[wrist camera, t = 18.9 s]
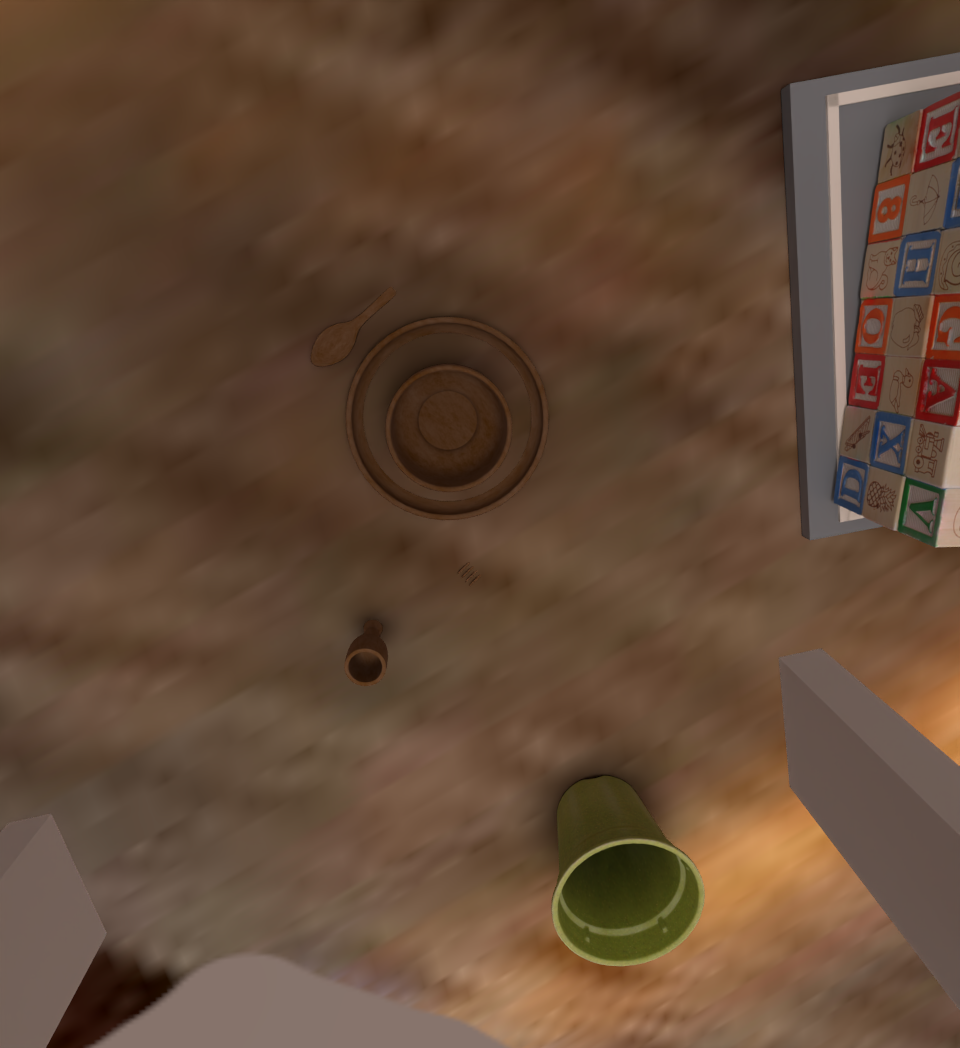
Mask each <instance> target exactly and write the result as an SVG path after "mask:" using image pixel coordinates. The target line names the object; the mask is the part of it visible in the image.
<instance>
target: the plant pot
mask: <svg viewBox="0 0 960 1048" xmlns="http://www.w3.org/2000/svg"><path fill="white" fill-rule="evenodd" d="M557 830H558V848H559V875H558V880H557V885H556V887H555V890H554V893H553V897H552V918H553V923H554V926H555V929H556V931H557V933H558V935H559V937H560V938H561V940H562V941H563V942H564V943H565V945H566V946H567V947H568V948H569V949H570V950H572V951H573V952H574V953H576V954H577V955H579V956H581V957H583V958H584V959H587V960H589V961H591V962H594V963H598V964H603V965H610V966H628V965H636V964H641V963H645V962H648V961H651V960H654V959H656V958H659V957H661V956H663V955H665V954H667V953H668V952H670V951H671V950H673V949H674V948H676V947H677V946H678V945H679V944H681V943H682V942H683V941H684V940H685V939H686V938H687V937H688V936H689V934H690V933H691V932H692V930H693V929H694V927H695V926H696V924H697V923H698V921H699V918H700V916H701V912H702V909H703V906H704V897H705V893H704V885H703V881H702V878H701V875H700V873H699V871H698V869H697V867H696V866H695V864H694V863H693V862H692V860H691V859H690V858H689V857H688V856H687V855H686V854H685V853H684V852H683V851H681V850H680V849H678V848H677V847H675V846H674V845H673V844H672V843H671V842H669V841H668V840H667V839H666V837H665V836H664V834H663V833H662V831H661V830H660V828H659V827H658V825H657V824H656V822H655V821H654V819H653V818H652V816H651V815H650V813H649V812H648V810H647V809H646V807H645V806H644V804H643V802H642V801H641V799H640V798H639V796H638V795H637V793H636V792H635V791H634V789H633V788H632V787H631V786H630V785H629V784H627V783H626V782H624V781H622V780H621V779H618V778H615V777H611V776H601V777H598V778H594V779H587V780H581V781H579V782H577V783H575V784H574V785H573V786H571V787H570V788H569V789H568V790H567V791H566V792H565V794H564V795H563V796H562V798H561V800H560V802H559V805H558V809H557Z"/></svg>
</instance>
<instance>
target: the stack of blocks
mask: <svg viewBox="0 0 960 1048" xmlns="http://www.w3.org/2000/svg"><path fill="white" fill-rule="evenodd" d="M860 298H861V301H862V302H861V307H860V316H859V324H858V329H857V337H856V344H855V354H856V355H855V358H854V365H853V371H852V378H851V387H850V393H849V405H848V406H847V407H846V411H845V418H844V426H843V433H842V440H841V446H840V458H839V463H838V471H837V477H836V485H835V493H834V503H835V504H837V505H839V506H841V507H844V508H846V509H848V510H850V511H852V512H854V513H856V514H858V515H861V516H863V517H864V518H867V519H869V520H871V521H873V522H875V523H877V524H880V525H882V526H884V527H886V528H889V529H891V530H894V531H899V532H900V533H903V534H905V535H907V536H910V537H912V538H915V539H917V540H919V541H922V542H924V543H926V544H929V545H931V546H933V547H960V91H959V92H957V93H955V94H953V95H951V96H949V97H946V98H944V99H942V100H940V101H938V102H936V103H934V104H932V105H930V106H928V107H927V108H925V109H920V110H918V111H915V112H913V113H911V114H909V115H906V116H904V117H902V118H900V119H898V120H896V121H894V122H891V123H890V124H888V125H887V126H886V128H885V134H884V141H883V148H882V155H881V162H880V169H879V175H878V184H877V186H876V188H875V194H874V201H873V208H872V215H871V223H870V230H869V238H868V247H867V251H866V257H865V264H864V271H863V278H862V286H861V293H860Z"/></svg>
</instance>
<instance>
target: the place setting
mask: <svg viewBox="0 0 960 1048" xmlns="http://www.w3.org/2000/svg"><path fill="white" fill-rule="evenodd" d="M395 295H396V291H395V290H394V289H393V288H392V287H389V288H388V289H387V290H386V291H385V292H384V293H383V294H381V295H380V296H379V297H378V298H377V299H376V300H375V301H374V302H373V303H372V304H371V305H370V306H369V307H368V308H367V309H366V310H365V311H364V312H363V313H361V314H360V315H359V316H358V317H356V318H355V319H353V320H351V321H349V322H344V323H339V324H335V325H332V326H330V327H328V328H327V329H325V330H324V331H323V332H322V333H321V334H320V335H319V336H318V338H317V339H316V341H315V343H314V345H313V348H312V352H311V362H312V363H313V364H314V365H315V366H318V367H323V366H329V365H332V364H335V363H337V362H339V361H341V360H343V359H344V358H345V357H346V356H347V355H348V354H349V353H350V351H351V350H352V348H353V346H354V344H355V341H356V338H357V334H358V331H359V329H360V328H361V327H362V325H363V324H364V323H365V322H366V321H367V320H368V319H369V318H370V317H371V316H372V315H374V314H375V313H376V312H377V311H378V310H379V309H380V308H382V307H383V306H384V305H385V304H386V303H388V302H389V301H390V300H391V299H392V298H393V297H394V296H395ZM435 333H459V334H465V335H469V336H472V337H476V338H478V339H480V340H482V341H485V342H487V343H488V344H490V345H492V346H493V347H495V348H496V349H498V350H499V351H500V352H501V353H502V354H504V355H505V356H506V357H507V358H508V359H509V360H510V362H511V363H512V364H513V365H514V367H515V368H516V369H517V371H518V372H519V374H520V376H521V378H522V380H523V381H524V384H525V386H526V389H527V392H528V395H529V399H530V404H531V414H532V417H531V430H530V436H529V440H528V443H527V446H526V449H525V451H524V453H523V455H522V457H521V459H520V461H519V462H518V464H517V465H516V467H515V468H514V469H513V471H512V472H511V473H510V474H509V475H508V476H507V477H506V478H505V479H504V480H503V481H502V482H501V483H499V484H498V485H497V486H495V487H494V488H492V489H491V490H489V491H487V492H485V493H483V494H481V495H478V496H476V497H473V498H469V499H465V500H459V501H436V500H430V499H426V498H422V497H420V496H417V495H415V494H412V493H410V492H408V491H406V490H405V489H403V488H401V487H400V486H399V485H397V484H396V483H395V482H393V481H392V480H391V479H390V478H389V477H388V476H387V475H386V474H385V473H384V472H383V470H382V469H381V468H380V467H379V465H378V464H377V462H376V461H375V459H374V457H373V455H372V453H371V451H370V449H369V447H368V443H367V440H366V437H365V432H364V426H363V409H364V401H365V397H366V392H367V390H368V387H369V384H370V382H371V380H372V378H373V376H374V374H375V372H376V371H377V369H378V368H379V367H380V365H381V364H382V363H383V361H384V360H385V359H386V358H387V357H388V356H389V355H390V354H391V353H393V352H394V351H395V350H396V349H398V348H399V347H401V346H402V345H404V344H406V343H407V342H409V341H411V340H414V339H416V338H418V337H421V336H425V335H429V334H435ZM548 422H549V414H548V403H547V398H546V394H545V390H544V387H543V384H542V382H541V379H540V377H539V375H538V373H537V371H536V369H535V367H534V365H533V364H532V362H531V361H530V360H529V358H528V357H527V355H526V354H525V353H524V352H523V351H522V350H521V349H520V348H519V347H518V346H517V344H515V343H514V342H513V341H512V340H510V339H509V338H508V337H507V336H505V335H504V334H502V333H501V332H499V331H497V330H496V329H494V328H492V327H490V326H487V325H485V324H483V323H480V322H476V321H473V320H470V319H464V318H457V317H437V318H429V319H424V320H421V321H417V322H413V323H411V324H409V325H406V326H404V327H402V328H400V329H398V330H396V331H395V332H393V333H391V334H390V335H388V336H387V337H386V338H385V339H383V340H382V341H381V342H380V343H378V344H377V345H376V346H375V348H374V349H373V350H372V351H371V352H370V353H369V354H368V355H367V357H366V358H365V360H364V361H363V362H362V364H361V365H360V367H359V369H358V371H357V373H356V375H355V377H354V379H353V382H352V385H351V387H350V391H349V395H348V400H347V407H346V430H347V436H348V442H349V445H350V448H351V451H352V455H353V457H354V459H355V461H356V463H357V465H358V467H359V469H360V471H361V472H362V474H363V475H364V477H365V478H366V480H367V481H368V482H369V483H370V484H371V486H372V487H373V488H374V489H375V490H376V491H377V492H378V493H379V494H380V495H381V496H383V497H384V498H385V499H387V500H388V501H389V502H391V503H392V504H394V505H395V506H397V507H399V508H401V509H403V510H405V511H407V512H410V513H412V514H415V515H417V516H421V517H425V518H430V519H438V520H458V519H465V518H470V517H474V516H478V515H481V514H483V513H486V512H488V511H491V510H493V509H494V508H496V507H498V506H500V505H502V504H503V503H505V502H506V501H507V500H509V499H510V498H511V497H513V496H514V495H515V494H516V493H517V492H518V491H519V490H520V489H521V488H522V487H523V486H524V485H525V483H526V482H527V481H528V480H529V478H530V477H531V475H532V474H533V472H534V470H535V469H536V467H537V465H538V463H539V461H540V459H541V456H542V454H543V451H544V447H545V444H546V440H547V434H548ZM385 432H386V440H387V445H388V448H389V451H390V453H391V455H392V458H393V459H394V461H395V463H396V464H397V466H398V467H399V468H400V469H401V471H402V472H403V473H404V474H405V475H406V476H407V477H409V478H410V479H411V480H413V481H414V482H416V483H418V484H419V485H421V486H423V487H426V488H428V489H432V490H436V491H442V492H456V491H462V490H466V489H470V488H472V487H475V486H477V485H479V484H480V483H482V482H484V481H485V480H487V479H488V478H489V477H491V476H492V475H493V474H494V473H495V472H496V471H497V469H498V468H499V467H500V466H501V464H502V462H503V461H504V459H505V457H506V455H507V453H508V451H509V447H510V444H511V438H512V419H511V414H510V410H509V407H508V405H507V402H506V400H505V399H504V397H503V395H502V394H501V392H500V391H499V389H498V388H497V387H496V386H495V385H494V384H493V383H492V382H491V381H490V380H489V379H488V378H487V377H485V376H484V375H483V374H481V373H479V372H478V371H476V370H474V369H471V368H469V367H466V366H462V365H457V364H439V365H434V366H430V367H427V368H425V369H422V370H420V371H419V372H417V373H415V374H414V375H412V376H411V377H410V378H408V379H407V380H406V381H405V382H404V383H403V384H402V385H401V387H400V388H399V389H398V391H397V392H396V394H395V396H394V398H393V399H392V401H391V404H390V406H389V409H388V412H387V416H386V424H385ZM469 564H470V562H468V563H467V564H466V565H465V566H464V567H463V568H462V569H461V570H460V571H459V572H458V574H459V573H460V572H461V571H463V570H464V569H465V568H466V567H467V566H468V565H469ZM473 568H474V566H472V567H471V568H470V569H469V570H468V571H467V572H466V573H465V574H464V575H463V576H462V578H463V577H464V576H465V575H466V574H468V573H469V572H470V571H471V570H472V569H473ZM476 573H477V571H475V572H473V573H472V574H471V575H470V577H469V578H468V579H467V580H466V581H465V582H467V581H468V580H469V579H470V578H471V577H473V576H474V575H475V574H476ZM480 577H481V575H478V576H477V577H476V578H475V579H474V580H473V581H472V582H471V584H470V585H472V584H473V583H474V582H475V581H476V580H477V579H479V578H480ZM470 585H469V586H470ZM382 630H383V627H382V624H381V623H380V622H379V621H377V620H369V621H367V622H366V623H365V625H364V634H363V635H361V636H359V637H357V638H356V639H355V640H354V641H353V642H352V644H351V645H350V647H349V650H348V652H347V655H346V659H345V666H344V669H345V673H346V675H347V677H348V678H349V679H350V680H351V681H352V682H353V683H355V684H357V685H361V686H370V685H373V684H376V683H377V682H379V681H380V680H381V679H382V678H383V676H384V674H385V672H386V668H387V660H388V651H387V647H386V645H385V643H384V641H383V640H382V639H381V638H380V634H381V633H382Z"/></svg>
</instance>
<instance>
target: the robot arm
mask: <svg viewBox="0 0 960 1048" xmlns="http://www.w3.org/2000/svg"><path fill="white" fill-rule="evenodd" d="M779 666H780V677H781V689H782V701H783V712H784V724H785V736H786V747H787V759H788V771H789V783H790V788H791V789H792V790H793V791H794V793H795V794H796V795H797V797H798V798H799V799H800V801H801V802H802V803H803V805H804V806H805V807H806V809H807V810H808V811H809V813H810V814H811V815H812V816H813V818H814V819H815V820H816V822H817V823H818V824H819V826H820V827H821V828H822V830H823V831H824V832H825V834H826V835H827V836H828V838H829V839H830V840H831V841H832V843H833V844H834V845H835V847H836V848H837V849H838V851H839V852H840V853H841V855H842V856H843V857H844V859H845V860H846V861H847V863H848V864H849V865H850V866H851V868H852V869H853V870H854V872H855V873H856V874H857V876H858V877H859V878H860V880H861V881H862V882H863V884H864V885H865V886H866V888H867V889H868V890H869V892H870V893H871V894H872V895H873V897H874V898H875V899H876V901H877V902H878V903H879V905H880V906H881V907H882V909H883V910H884V911H885V913H886V914H887V915H888V917H889V918H890V919H891V920H892V922H893V923H894V924H895V926H896V927H897V928H898V930H899V931H900V932H901V934H902V935H903V936H904V938H905V939H906V940H907V942H908V943H909V944H910V945H911V947H912V948H913V949H914V951H915V952H916V953H917V955H918V956H919V957H920V959H921V960H922V961H923V963H924V964H925V965H926V967H927V968H928V969H929V970H930V972H931V973H932V974H933V976H934V977H935V978H936V980H937V981H938V982H939V984H940V985H941V986H942V988H943V989H944V990H945V992H946V993H947V994H948V995H949V997H950V998H951V999H952V1001H953V1002H954V1003H955V1005H956V1006H957V1007H958V1009H959V1010H960V766H958V765H957V764H956V763H955V762H954V761H953V760H951V759H950V758H949V757H948V756H947V755H946V754H944V753H943V752H942V751H941V750H940V749H939V748H937V747H936V746H935V745H934V744H933V743H931V742H930V741H929V740H928V739H927V738H926V737H924V736H923V735H922V734H921V733H920V732H919V731H917V730H916V729H915V728H914V727H913V726H912V725H910V724H909V723H908V722H907V721H906V720H904V719H903V718H902V717H901V716H900V715H899V714H897V713H896V712H895V711H894V710H893V709H892V708H890V707H889V706H888V705H887V704H886V703H885V702H883V701H882V700H881V699H880V698H879V697H877V696H876V695H875V694H874V693H873V692H872V691H870V690H869V689H868V688H867V687H866V686H865V685H863V684H862V683H861V682H860V681H859V680H858V679H856V678H855V677H854V676H853V675H852V674H850V673H849V672H848V671H847V670H846V669H845V668H843V667H842V666H841V665H840V664H839V663H838V662H836V661H835V660H834V659H833V658H832V657H831V656H829V655H828V654H827V653H826V652H825V651H824V650H822V649H817V650H812V651H807V652H803V653H798V654H793V655H789V656H784V657H779ZM106 934H107V933H106V931H105V929H104V927H103V924H102V922H101V920H100V918H99V916H98V914H97V911H96V909H95V907H94V905H93V903H92V901H91V899H90V896H89V894H88V892H87V890H86V888H85V886H84V883H83V881H82V879H81V877H80V875H79V873H78V871H77V868H76V866H75V864H74V862H73V860H72V858H71V855H70V853H69V851H68V849H67V847H66V845H65V842H64V840H63V838H62V836H61V834H60V832H59V830H58V827H57V825H56V823H55V821H54V819H53V817H52V814H48V815H43V816H38V817H34V818H29V819H24V820H20V821H15V822H10V823H8V824H7V825H6V827H5V828H4V829H3V830H2V831H1V832H0V1048H46V1046H47V1045H48V1043H49V1041H50V1039H51V1037H52V1035H53V1033H54V1031H55V1030H56V1028H57V1026H58V1024H59V1022H60V1020H61V1018H62V1016H63V1015H64V1013H65V1011H66V1009H67V1007H68V1005H69V1003H70V1001H71V1000H72V998H73V996H74V994H75V992H76V990H77V988H78V986H79V985H80V983H81V981H82V979H83V977H84V975H85V973H86V971H87V970H88V968H89V966H90V964H91V962H92V960H93V958H94V956H95V955H96V953H97V951H98V949H99V947H100V945H101V943H102V941H103V940H104V938H105V936H106Z"/></svg>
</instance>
